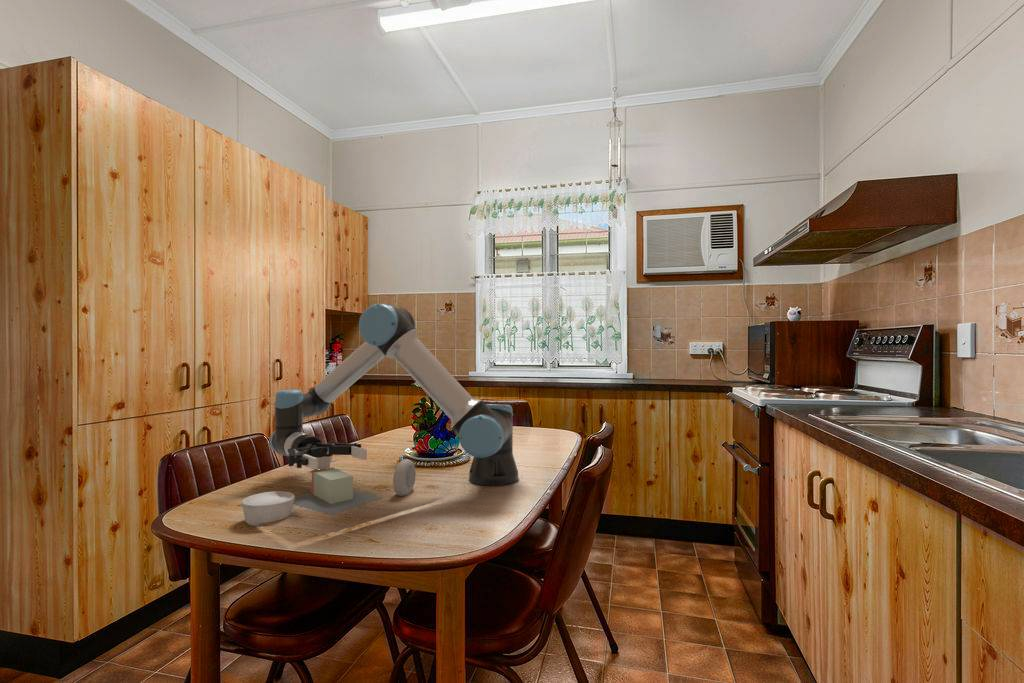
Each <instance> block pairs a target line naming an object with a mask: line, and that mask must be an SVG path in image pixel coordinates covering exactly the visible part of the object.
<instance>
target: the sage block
mask: <svg viewBox="0 0 1024 683" xmlns="http://www.w3.org/2000/svg"><path fill="white" fill-rule="evenodd" d="M353 490H354V476H353V475H352V474H349V473H347V472H345V471H342V470H340V469H338V468H335V467H330V468H328V469H322V470H313V471H311V492H312V494H313V495H315V496H317V497H319V498H321V499H322V500H324V501H326V502H328V503H330V504H333V503H337V502H342V501H346V500H350V499H353Z"/></svg>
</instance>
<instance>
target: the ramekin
mask: <svg viewBox="0 0 1024 683" xmlns="http://www.w3.org/2000/svg"><path fill="white" fill-rule="evenodd" d="M295 496H296V495H295V494H294V493H292V492H288V491H283V490H282V491H279V490H278V491H265V492H260V493H255V494H252V495H249V496H247V497H245V498H243V499H242V501H241V507H242V510H243V511H242V512H243V515H244V519H245V523H247V524H248V525H249V526H252V527H258V528H259V527H260V528H262V527H264V523H265V524H267V523H271V522H277V521H281V520H284V519H285V518H288V517H289V516H290V515H291V514H292V512H293V506H294V504H293V502H294V500H295Z"/></svg>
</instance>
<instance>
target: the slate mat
mask: <svg viewBox="0 0 1024 683" xmlns="http://www.w3.org/2000/svg"><path fill="white" fill-rule="evenodd" d="M379 499H383V496H380V495H375V494H372V493H367V492H363V491H359V490H354V489H353V499H350V500H346V501H342V502H337V503H333V504H330V503H328V502H326V501H324V500H322V499H321V498H319V497H317V496H315V495H313V494H312V491H310V492H306V493H303V494H299V495H295V500H294V502H293V505H296V506H298V507H299V506H300V507H303V508H307V509H311V510H312V511H313V510H314V511H317V512H319V513H322V514H327V515H331V516H334V515H336V514H340V513H342V512H344V511H348V510H351V509H353V508H356V507H359V506H362V505H365V504H368V503H370V502H373V501H378V500H379Z"/></svg>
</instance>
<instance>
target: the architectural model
mask: <svg viewBox="0 0 1024 683" xmlns="http://www.w3.org/2000/svg"><path fill="white" fill-rule="evenodd" d="M326 454H329V450H328V452H327V453H326ZM339 460H340V458H333V455H332V456H330V457H318V469H320V470H322V469H328V468H331V463H335V462H338V461H339Z"/></svg>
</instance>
